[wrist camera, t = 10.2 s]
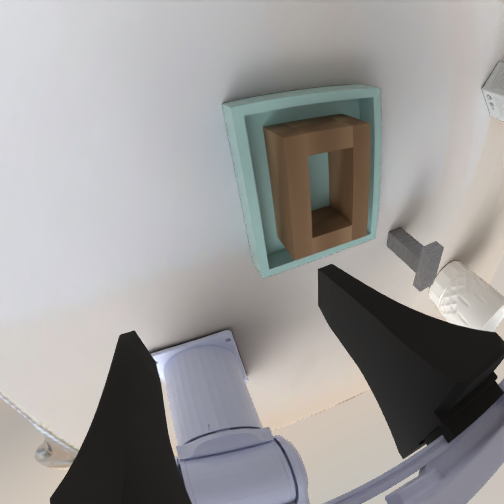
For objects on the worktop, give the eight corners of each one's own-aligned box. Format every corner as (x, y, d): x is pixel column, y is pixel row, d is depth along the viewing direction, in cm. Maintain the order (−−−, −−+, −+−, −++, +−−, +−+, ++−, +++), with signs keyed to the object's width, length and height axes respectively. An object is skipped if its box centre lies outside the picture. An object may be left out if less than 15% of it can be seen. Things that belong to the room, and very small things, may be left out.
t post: (397, 251, 28) (433, 284, 24) (384, 256, 28) (419, 291, 24) (403, 215, 26) (443, 247, 21) (389, 220, 25) (430, 254, 21)
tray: (361, 225, 24) (375, 237, 23) (252, 261, 23) (262, 278, 21) (360, 83, 17) (380, 87, 16) (221, 103, 16) (230, 107, 14)
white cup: (468, 258, 36) (514, 300, 28) (441, 301, 39) (482, 345, 31) (446, 253, 32) (500, 303, 24) (416, 303, 36) (461, 355, 28)
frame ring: (342, 113, 18) (370, 123, 15) (344, 215, 23) (366, 235, 20) (262, 126, 17) (282, 138, 15) (277, 237, 22) (294, 260, 19)
